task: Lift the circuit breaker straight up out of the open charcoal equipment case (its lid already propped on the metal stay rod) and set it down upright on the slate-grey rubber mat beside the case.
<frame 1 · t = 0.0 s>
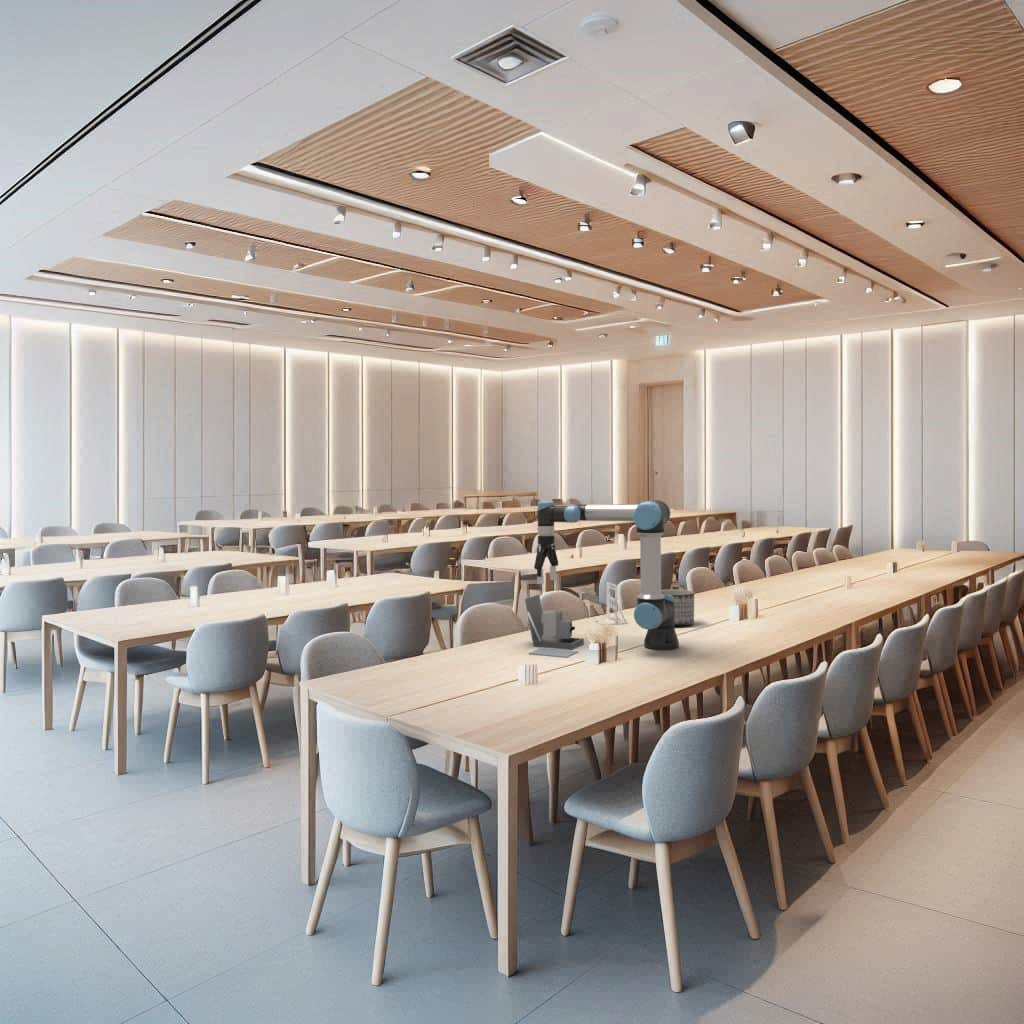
hand: (546, 582, 386), 28 cm above the table, fingers open, 13 cm apart
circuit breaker: (558, 645, 383), resting in case
planter: (675, 625, 428), on the table
mat: (553, 653, 366), on the table
case: (558, 645, 383), on the table
film strip holder: (610, 622, 437), on the table
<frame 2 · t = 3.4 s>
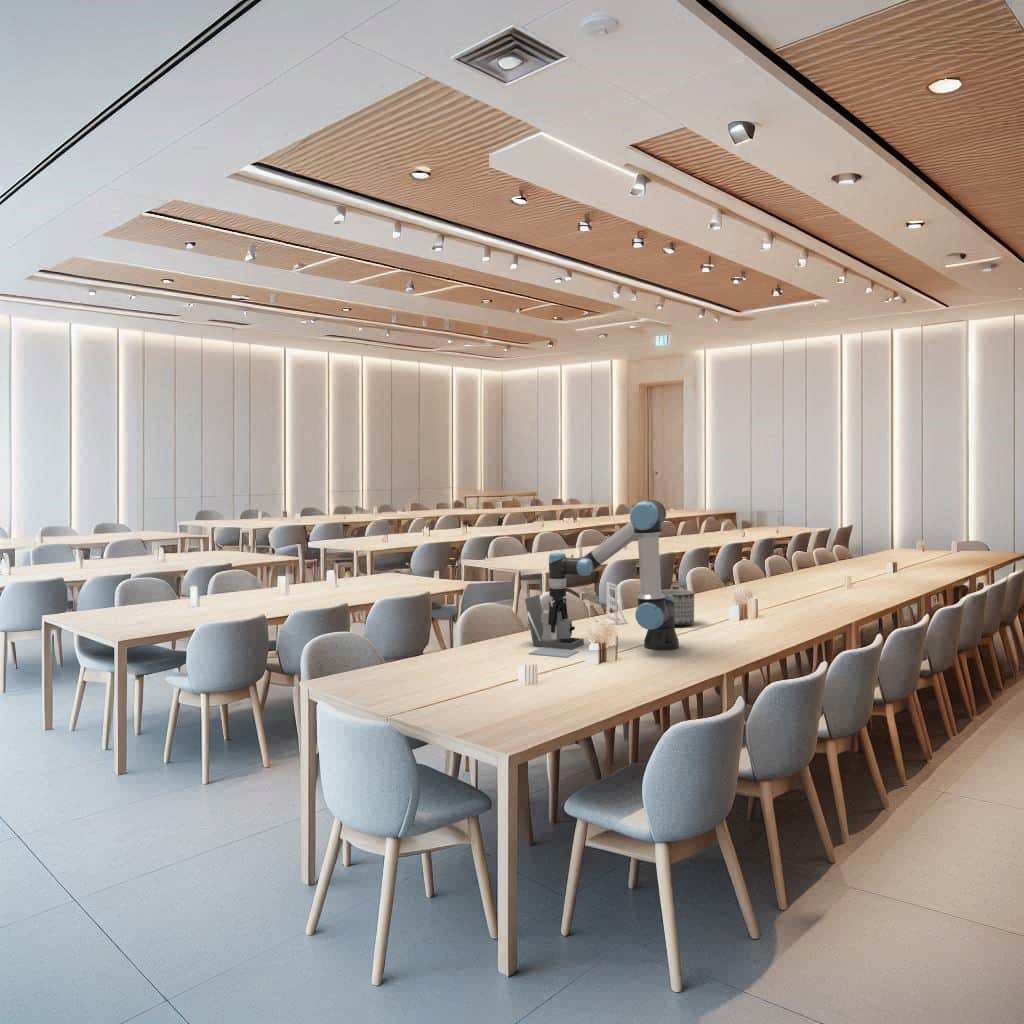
hand: (558, 637, 383), 3 cm above the table, fingers closed on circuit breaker, 9 cm apart
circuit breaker: (558, 645, 383), resting in case, touching gripper
everything else where it was.
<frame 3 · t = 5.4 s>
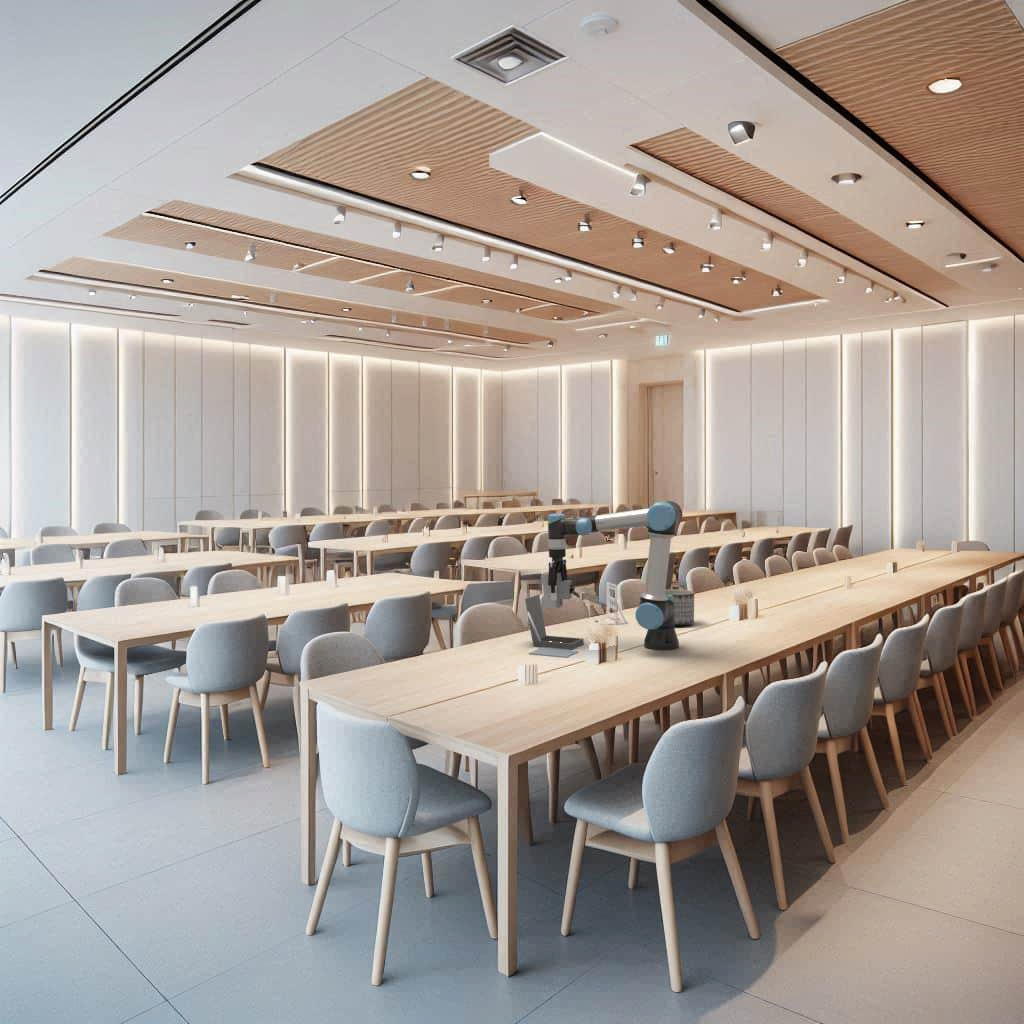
hand: (558, 598, 382), 21 cm above the table, fingers closed on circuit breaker, 9 cm apart
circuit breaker: (558, 606, 382), point 17 cm above the table, touching gripper
everything else where it was.
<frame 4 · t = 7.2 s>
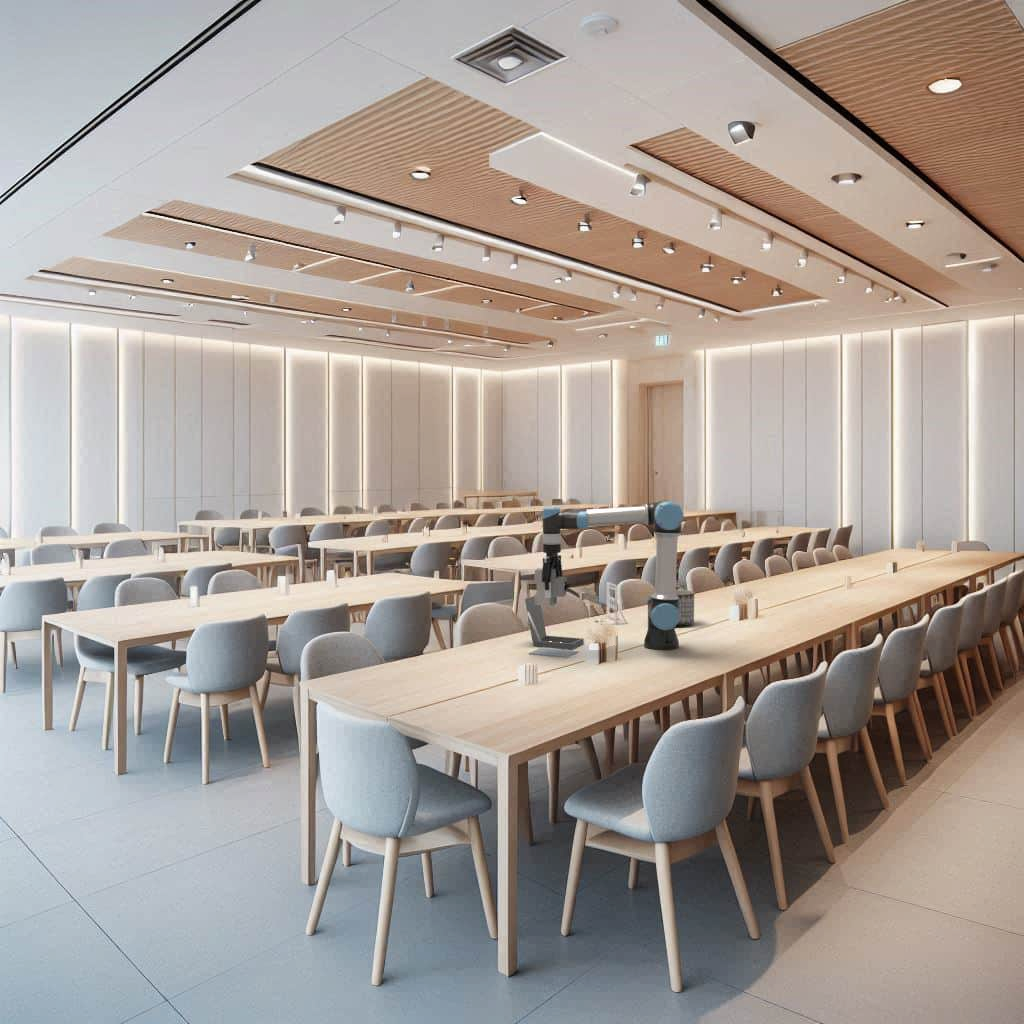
hand: (552, 596, 365), 25 cm above the table, fingers closed on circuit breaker, 9 cm apart
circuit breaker: (552, 604, 365), point 21 cm above the table, touching gripper
everything else where it was.
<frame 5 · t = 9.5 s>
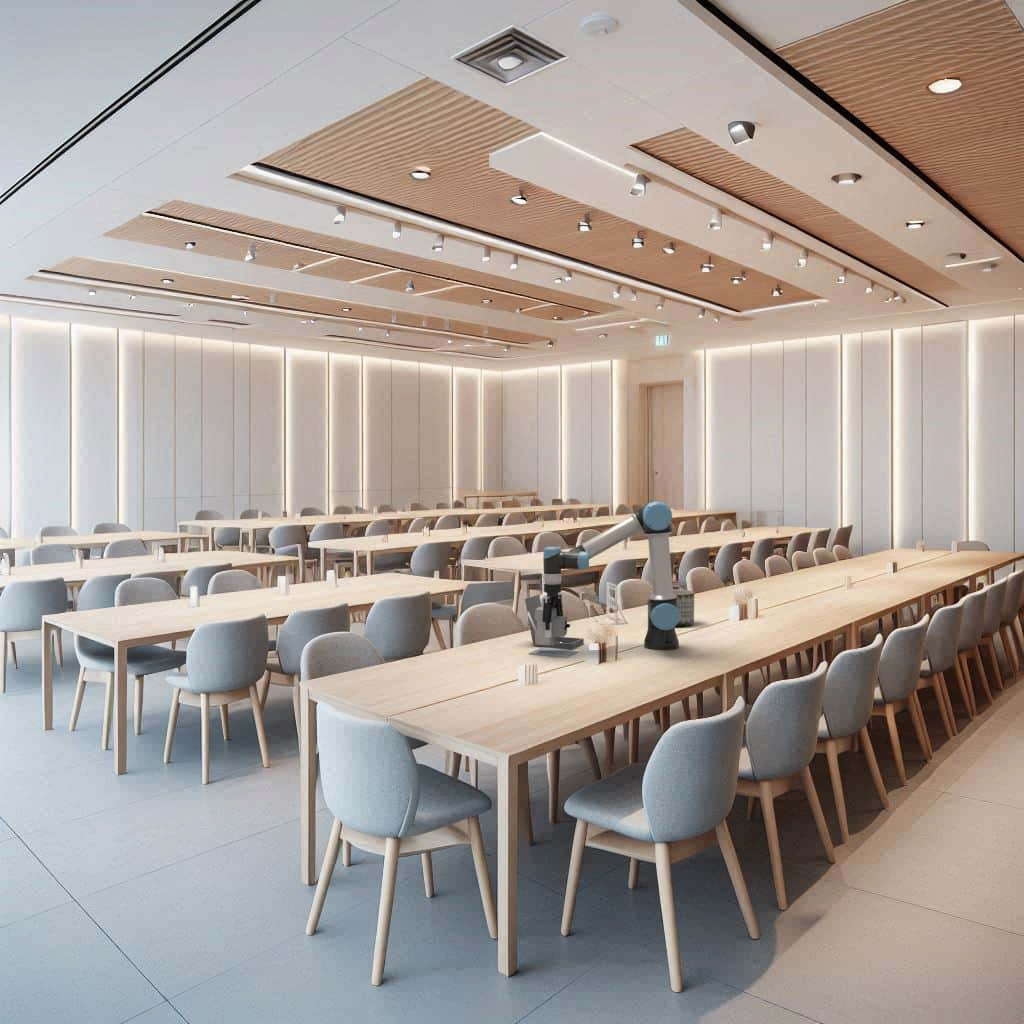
hand: (553, 635, 366), 8 cm above the table, fingers closed on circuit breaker, 9 cm apart
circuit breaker: (553, 643, 366), point 4 cm above the table, touching gripper
everything else where it was.
when the fingers open (5 cm above the table, at t = 10.9 s): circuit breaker drops 1 cm, resting on mat.
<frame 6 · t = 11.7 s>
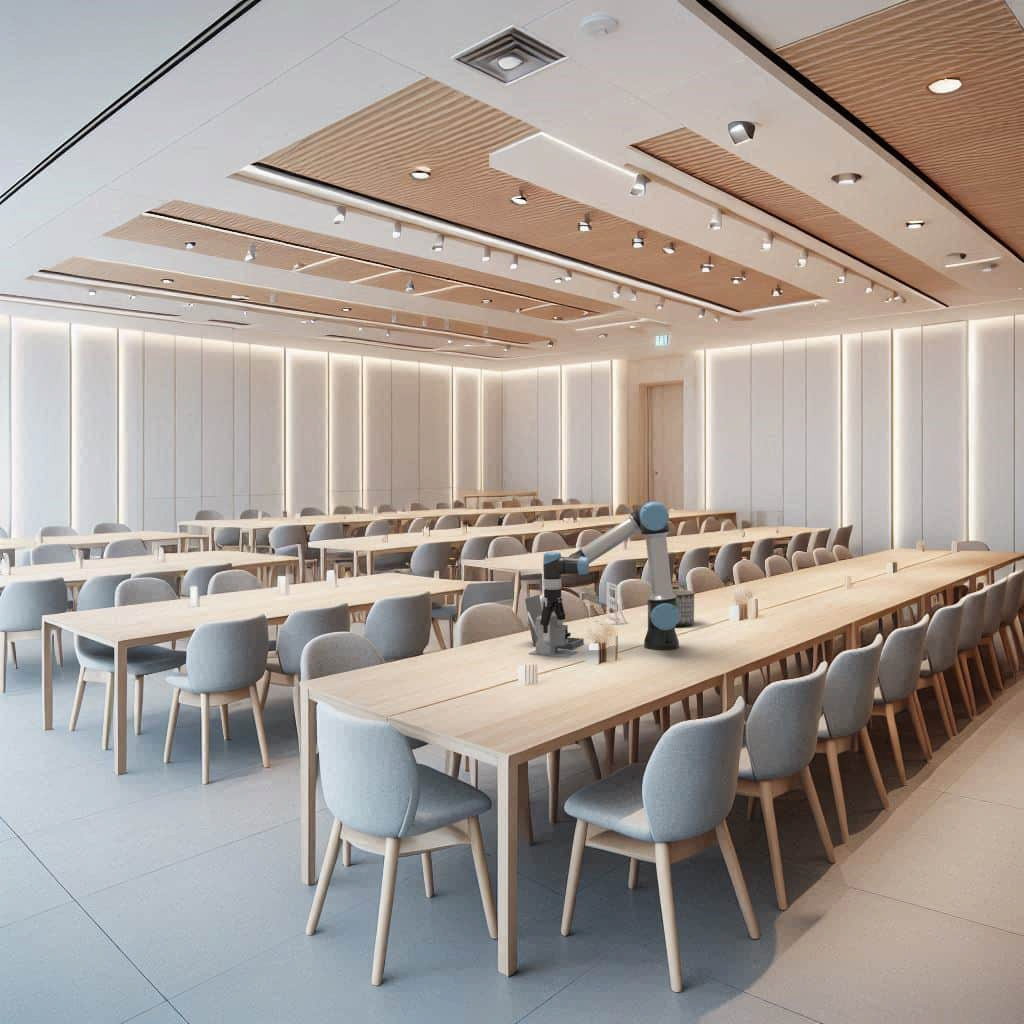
hand: (553, 637, 366), 7 cm above the table, fingers open, 13 cm apart
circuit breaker: (553, 652, 366), resting on mat
everything else where it was.
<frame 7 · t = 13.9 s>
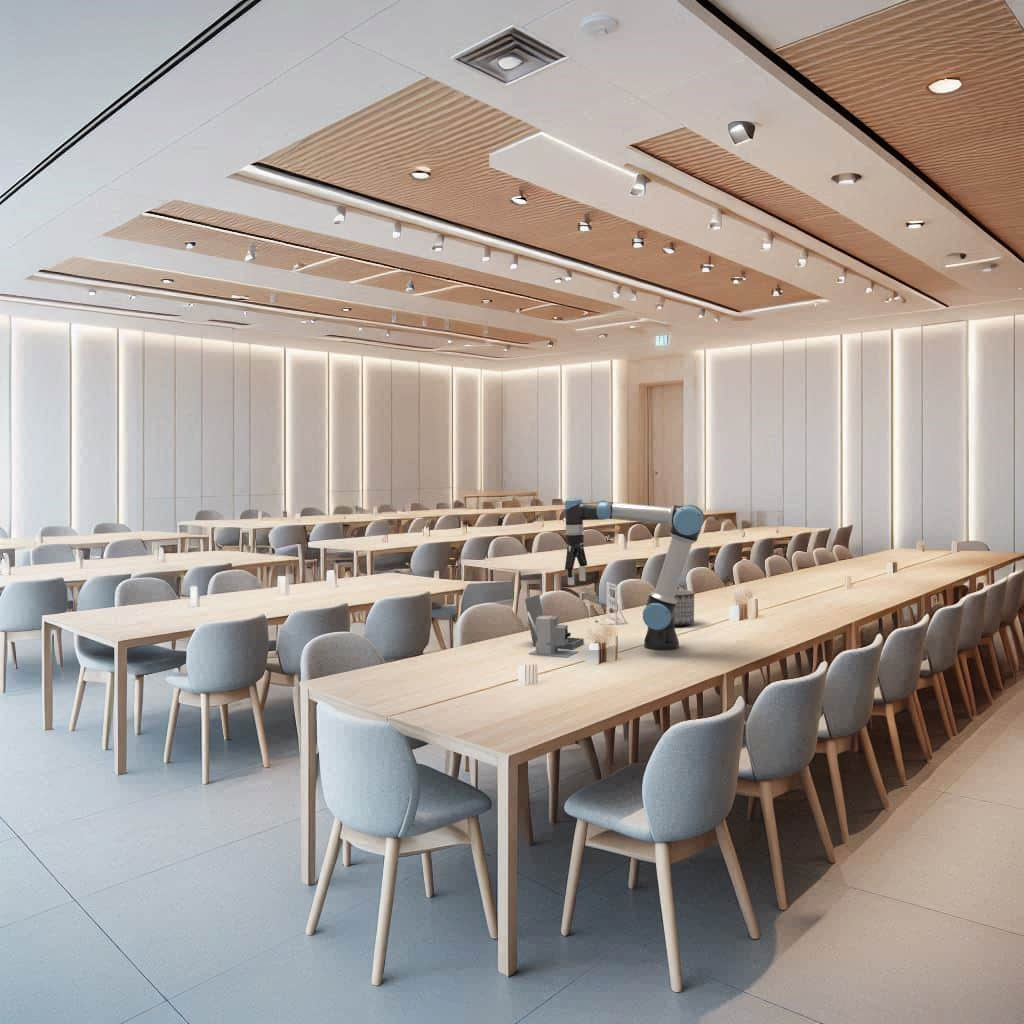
hand: (577, 582, 371), 29 cm above the table, fingers open, 13 cm apart
nothing on the table moved.
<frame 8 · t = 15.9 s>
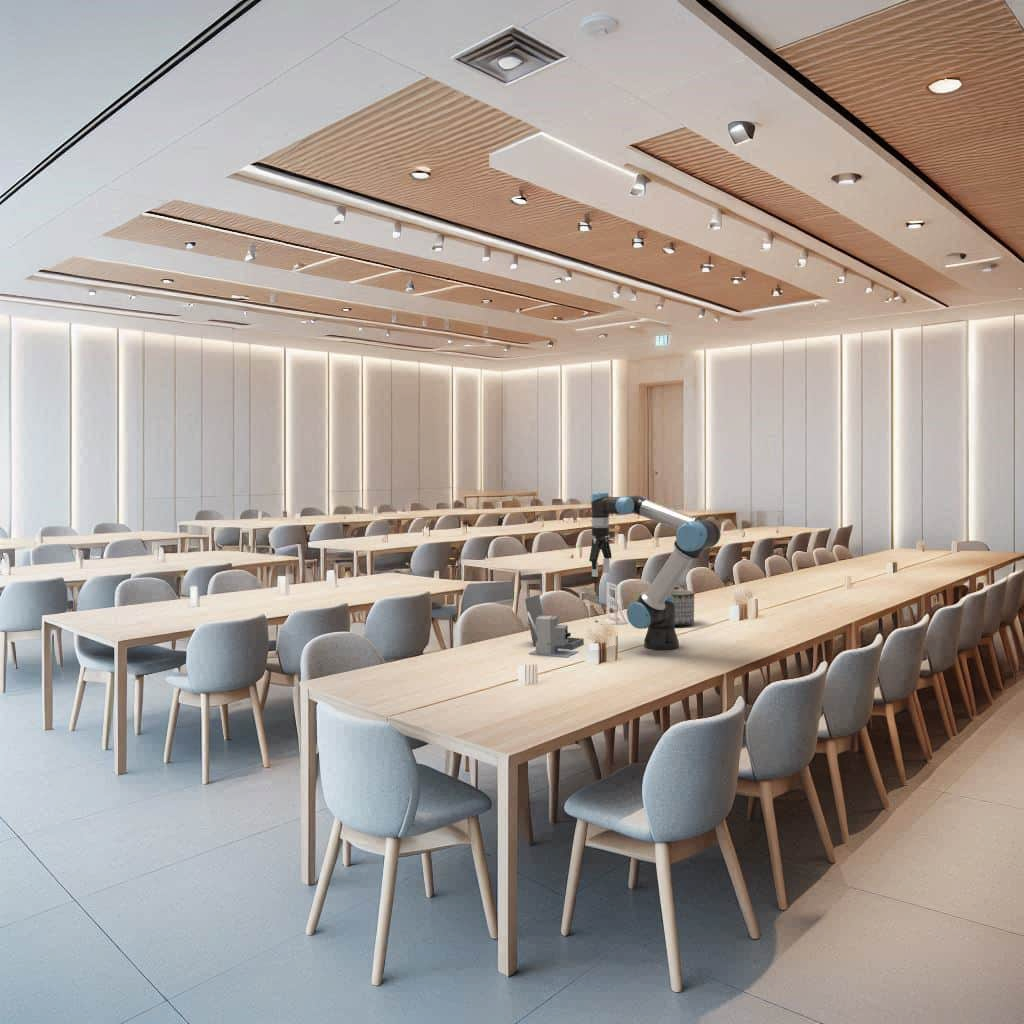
hand: (600, 574, 379), 32 cm above the table, fingers open, 13 cm apart
nothing on the table moved.
at the end: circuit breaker inside the target area (0.1 cm from its centre), resting on mat; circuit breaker tilted 0°; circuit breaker touching mat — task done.
